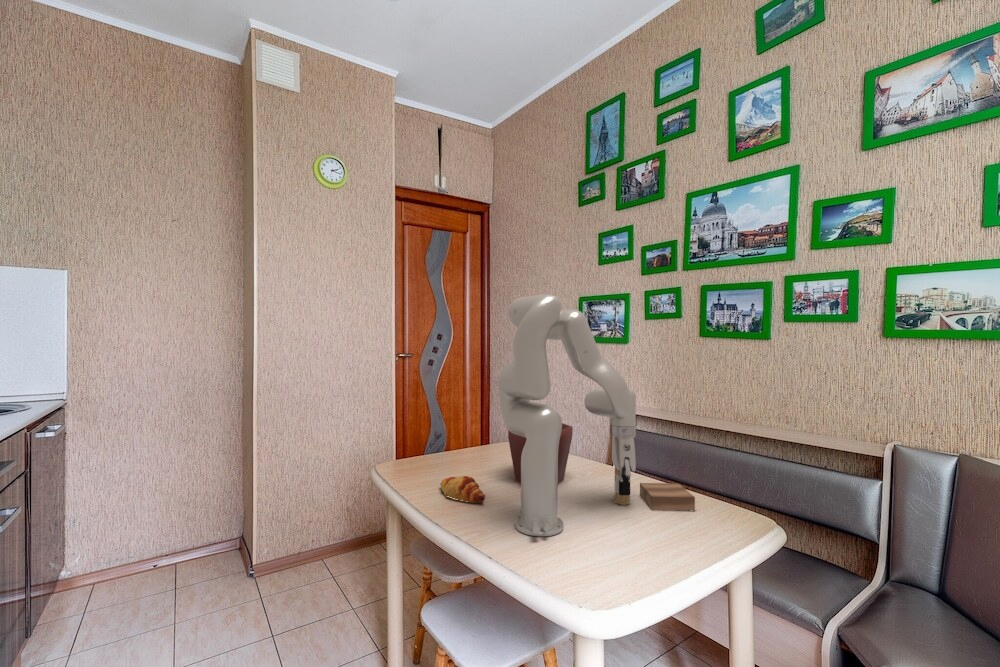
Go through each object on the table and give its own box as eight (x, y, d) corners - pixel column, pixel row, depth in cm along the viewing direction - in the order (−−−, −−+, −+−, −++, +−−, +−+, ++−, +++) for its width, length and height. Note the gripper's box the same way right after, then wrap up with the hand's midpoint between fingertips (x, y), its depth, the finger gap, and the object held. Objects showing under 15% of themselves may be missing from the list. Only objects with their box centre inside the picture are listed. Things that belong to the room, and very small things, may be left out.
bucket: (508, 468, 167) (509, 401, 167) (568, 469, 166) (568, 402, 166) (507, 490, 142) (508, 412, 143) (576, 492, 141) (577, 413, 142)
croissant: (434, 500, 143) (424, 481, 141) (456, 480, 149) (447, 460, 147) (477, 519, 128) (466, 497, 125) (499, 495, 134) (490, 474, 131)
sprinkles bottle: (619, 498, 136) (619, 454, 136) (632, 502, 133) (633, 457, 133) (611, 502, 132) (611, 457, 133) (625, 506, 129) (625, 460, 130)
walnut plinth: (694, 511, 126) (694, 497, 126) (652, 510, 126) (652, 496, 127) (678, 496, 138) (678, 483, 138) (639, 495, 138) (639, 483, 138)
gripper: (643, 437, 124) (643, 502, 124) (627, 425, 141) (627, 483, 141) (616, 436, 125) (616, 502, 124) (603, 425, 141) (603, 482, 141)
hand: (622, 491), depth 133 cm, fingers closed on sprinkles bottle, 4 cm apart
